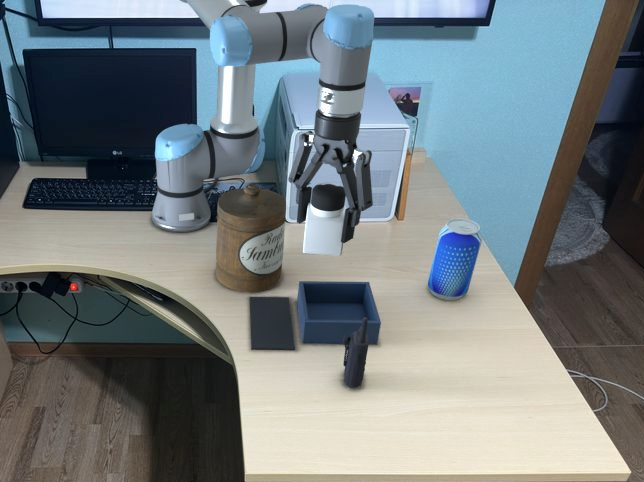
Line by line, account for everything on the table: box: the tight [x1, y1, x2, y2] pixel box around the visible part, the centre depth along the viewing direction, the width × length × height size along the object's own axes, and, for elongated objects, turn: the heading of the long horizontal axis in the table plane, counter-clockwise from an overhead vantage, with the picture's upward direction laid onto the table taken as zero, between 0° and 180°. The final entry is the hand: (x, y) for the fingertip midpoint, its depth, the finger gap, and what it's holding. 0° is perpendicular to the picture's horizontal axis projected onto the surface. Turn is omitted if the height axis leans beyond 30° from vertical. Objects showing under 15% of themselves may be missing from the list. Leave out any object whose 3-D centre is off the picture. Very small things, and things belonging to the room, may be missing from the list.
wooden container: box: [215, 183, 287, 293], centre depth 146 cm, size 15×15×22 cm
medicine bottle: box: [302, 181, 348, 257], centre depth 124 cm, size 7×7×12 cm
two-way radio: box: [342, 317, 370, 388], centre depth 119 cm, size 6×4×15 cm
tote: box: [296, 280, 382, 345], centre depth 137 cm, size 15×15×5 cm
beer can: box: [427, 217, 483, 301], centre depth 142 cm, size 8×8×16 cm
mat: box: [249, 296, 296, 351], centre depth 138 cm, size 18×8×1 cm, turn 177°
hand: (324, 230), depth 125 cm, fingers closed on medicine bottle, 10 cm apart
